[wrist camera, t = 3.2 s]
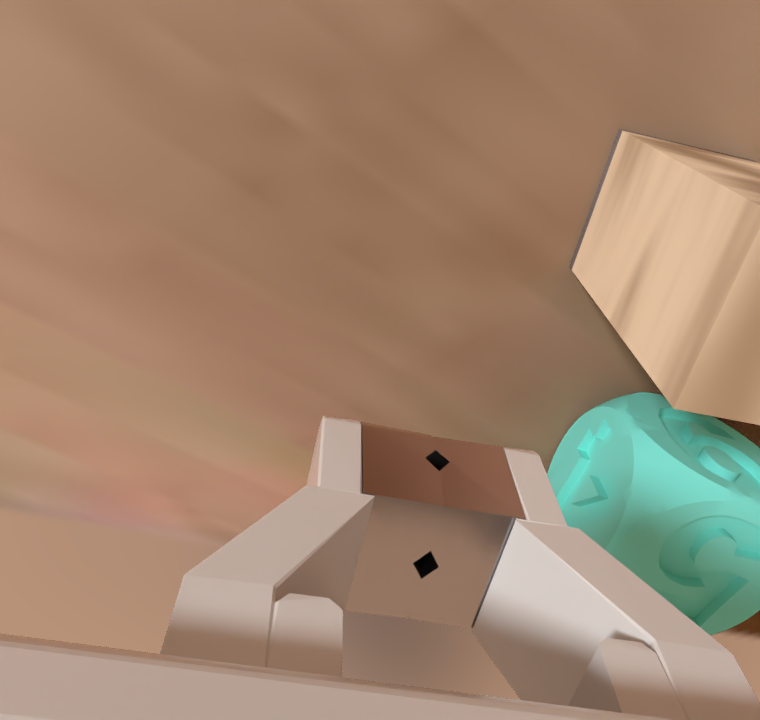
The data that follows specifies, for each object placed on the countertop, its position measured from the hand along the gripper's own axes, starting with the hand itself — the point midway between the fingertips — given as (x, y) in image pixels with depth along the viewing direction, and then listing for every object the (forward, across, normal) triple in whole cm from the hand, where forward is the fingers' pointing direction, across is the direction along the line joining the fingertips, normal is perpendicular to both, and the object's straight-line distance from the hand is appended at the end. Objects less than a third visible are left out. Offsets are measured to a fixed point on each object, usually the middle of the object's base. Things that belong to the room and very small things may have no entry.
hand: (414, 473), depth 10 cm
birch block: (+22, -12, 0) cm, 25 cm away
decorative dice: (+22, -16, +12) cm, 29 cm away
